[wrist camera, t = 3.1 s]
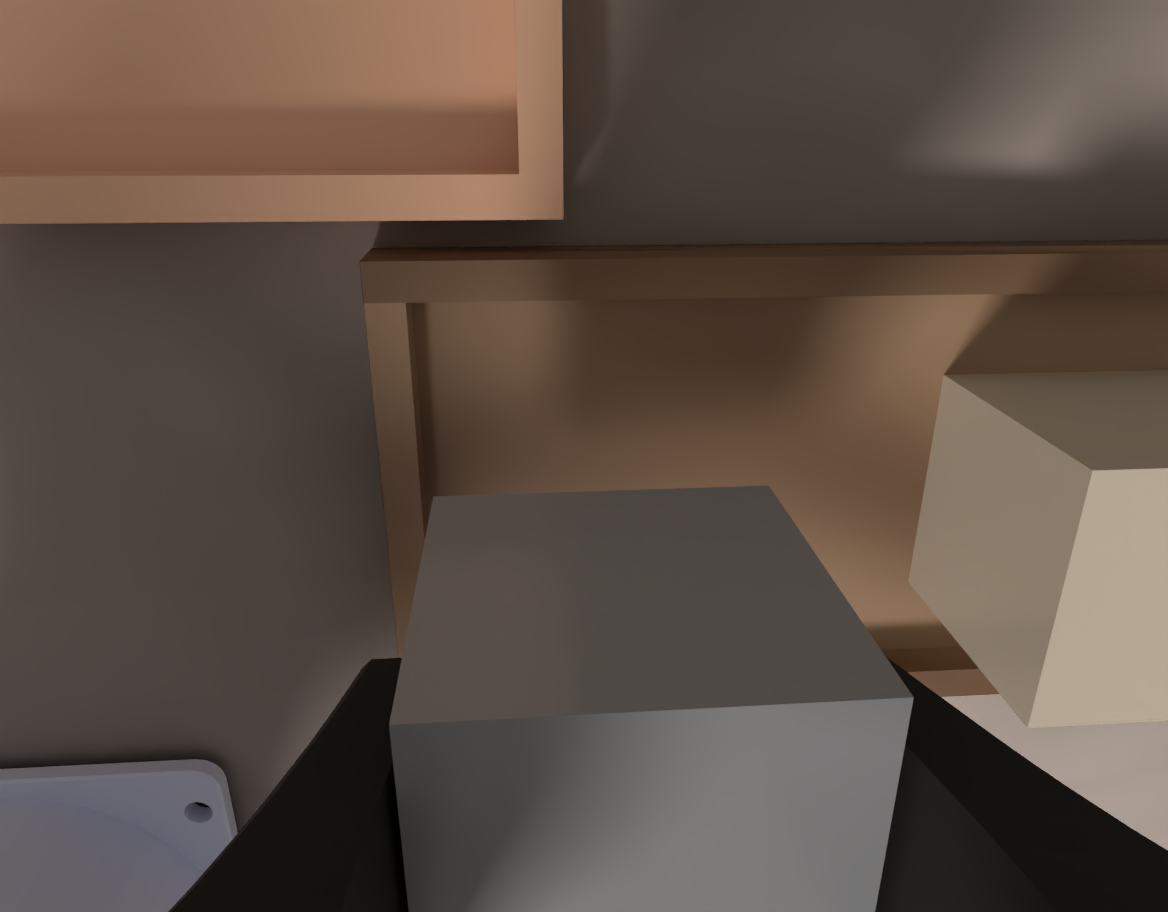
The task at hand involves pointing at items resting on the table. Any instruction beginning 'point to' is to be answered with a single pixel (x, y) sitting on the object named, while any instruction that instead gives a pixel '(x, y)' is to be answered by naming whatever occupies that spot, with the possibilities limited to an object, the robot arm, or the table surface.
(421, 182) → the terracotta dish
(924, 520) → the cream pedestal cube
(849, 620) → the slate gray cube
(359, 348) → the table surface
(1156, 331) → the walnut tray
